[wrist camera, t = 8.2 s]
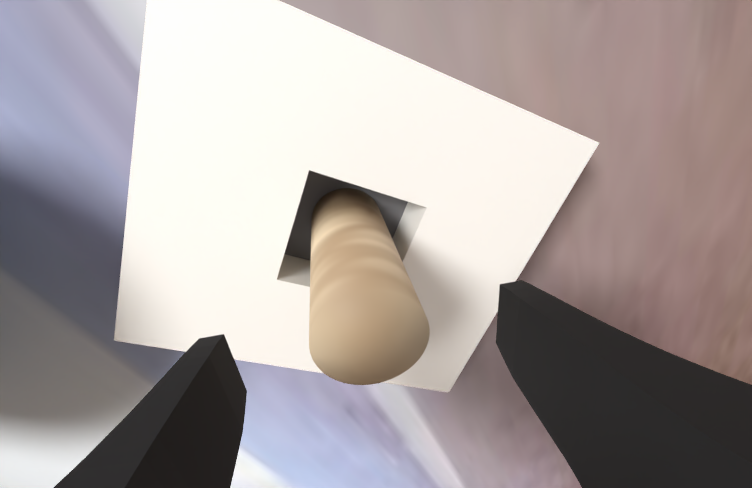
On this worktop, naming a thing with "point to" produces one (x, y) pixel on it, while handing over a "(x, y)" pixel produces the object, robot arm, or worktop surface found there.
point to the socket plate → (319, 182)
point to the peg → (360, 294)
